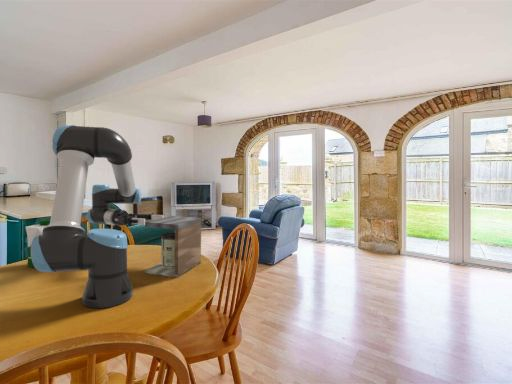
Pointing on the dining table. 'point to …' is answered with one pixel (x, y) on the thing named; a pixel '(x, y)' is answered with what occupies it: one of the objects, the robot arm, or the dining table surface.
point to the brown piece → (180, 244)
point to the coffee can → (168, 250)
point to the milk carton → (31, 233)
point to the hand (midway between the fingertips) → (154, 219)
